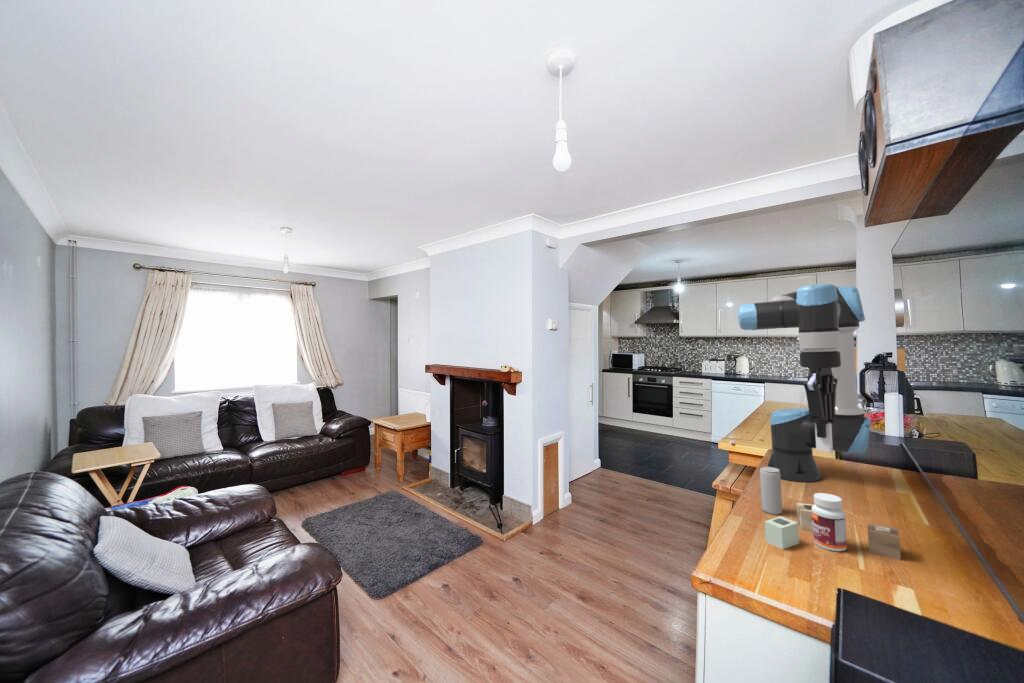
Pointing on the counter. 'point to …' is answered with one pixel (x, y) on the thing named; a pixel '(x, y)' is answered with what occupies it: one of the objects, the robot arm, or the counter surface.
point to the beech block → (804, 516)
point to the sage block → (781, 532)
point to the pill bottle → (829, 522)
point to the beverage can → (771, 490)
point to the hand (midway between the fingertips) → (824, 450)
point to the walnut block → (884, 541)
